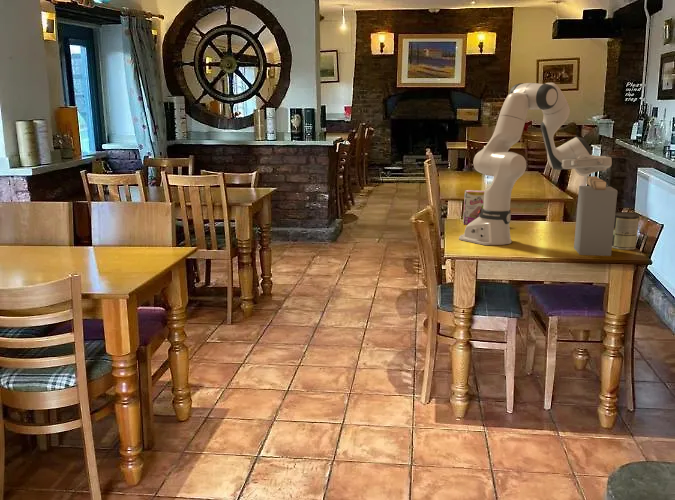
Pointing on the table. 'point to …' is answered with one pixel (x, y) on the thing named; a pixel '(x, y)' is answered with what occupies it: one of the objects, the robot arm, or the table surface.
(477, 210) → the candy bar box
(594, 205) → the pedestal
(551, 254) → the table surface
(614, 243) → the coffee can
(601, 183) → the beech bar
